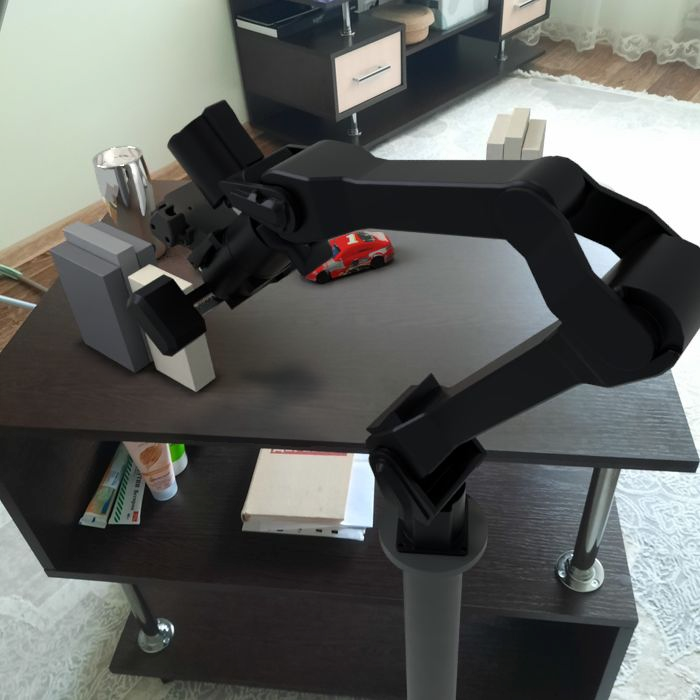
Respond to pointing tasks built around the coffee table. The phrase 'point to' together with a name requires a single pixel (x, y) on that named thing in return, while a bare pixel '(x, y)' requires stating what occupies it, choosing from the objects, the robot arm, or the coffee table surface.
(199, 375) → the white book
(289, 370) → the coffee table surface
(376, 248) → the race car
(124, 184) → the silver metal cup
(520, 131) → the white books
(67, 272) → the grey books
